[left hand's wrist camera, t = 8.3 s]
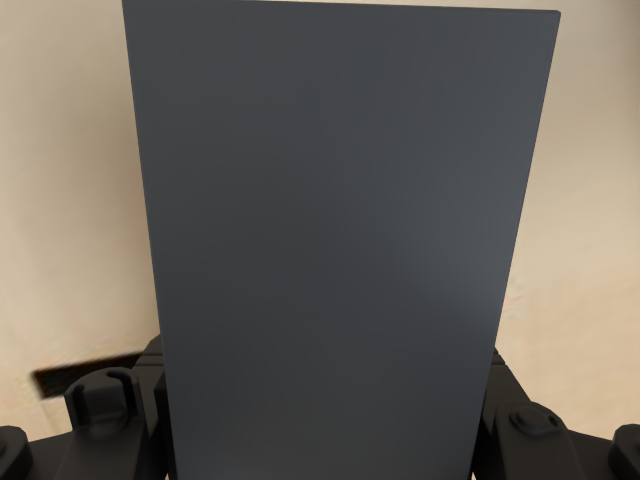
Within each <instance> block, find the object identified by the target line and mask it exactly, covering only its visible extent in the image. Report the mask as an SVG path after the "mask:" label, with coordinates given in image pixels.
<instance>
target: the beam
mask: <svg viewBox="0 0 640 480" xmlns="http://www.w3.org/2000/svg"><path fill="white" fill-rule="evenodd" d="M122 7H123V15H124V24H125V33H126V41H127V50H128V58H129V67H130V75H131V84H132V93H133V101H134V110H135V118H136V127H137V136H138V144H139V153H140V161H141V170H142V179H143V187H144V196H145V204H146V213H147V222H148V230H149V239H150V247H151V256H152V264H153V273H154V282H155V290H156V299H157V307H158V316H159V325H160V333H161V342H162V350H163V359H164V368H165V376H166V385H167V393H168V402H169V410H170V419H171V428H172V436H173V445H174V453H175V462H176V471H177V479H178V480H468V476H469V471H470V466H471V461H472V456H473V451H474V446H475V441H476V436H477V431H478V426H479V421H480V416H481V411H482V406H483V401H484V396H485V391H486V386H487V381H488V376H489V371H490V366H491V361H492V356H493V351H494V346H495V341H496V336H497V331H498V326H499V321H500V316H501V312H502V307H503V302H504V297H505V292H506V287H507V282H508V277H509V272H510V267H511V262H512V257H513V252H514V247H515V242H516V237H517V232H518V227H519V222H520V217H521V212H522V207H523V202H524V197H525V192H526V187H527V182H528V177H529V172H530V167H531V162H532V157H533V152H534V147H535V142H536V137H537V132H538V127H539V122H540V117H541V112H542V107H543V102H544V97H545V92H546V87H547V82H548V77H549V72H550V67H551V62H552V57H553V52H554V47H555V42H556V37H557V32H558V27H559V22H560V17H561V12H559V11H557V10H533V9H503V8H473V7H443V6H414V5H384V4H354V3H324V2H294V1H264V0H122Z"/></svg>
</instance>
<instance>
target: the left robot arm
mask: <svg viewBox="0 0 640 480" xmlns="http://www.w3.org/2000/svg"><path fill="white" fill-rule="evenodd" d="M64 398H65V402H66V406H67V410H68V413H69V417H70V421H71V424H72V428H73V430H72V431H71V432H68V433H64V434H61V435H57V436H53V437H49V438H44V439H40V440H36V441H32V442H28V439H27V436H26V433H25V432H24V431H23V430H22V429H21V428H20V427H15V426H9V425H8V426H1V427H0V480H165V478H166V476H167V473H168V477H169V480H178V479H177V471H176V462H175V453H174V445H173V436H172V428H171V419H170V410H169V402H168V393H167V385H166V376H165V368H164V359H163V350H162V342H161V334H159V335H158V336H157V337H155V338H154V339H153V340H151V341H150V342H149V344H148V346H147V347H146V349H145V350H144V352H143V353H142V356H140V358H139V359H138V361H137V362H136V364H135V366H134V367H133V368H132V370H131V369H127V368H123V367H112V368H106V369H102V370H98V371H94V372H92V373H90V374H88V375H86V376H84V377H81V378H80V379H79V380H77V381H76V382H75V383H73V384H72V385H71V386H70V387H69V388H68V390H67V391H66V392H65V394H64ZM472 473H474V475H475V478H476V480H640V425H638V424H628V425H622V426H621V427H619V428H618V429H617V430H616V431H615V434H614V437H613V440H607V439H603V438H599V437H595V436H590V435H586V434H582V433H578V432H575V431H572V430H569V429H567V427H566V426H565V424H564V423H563V421H562V420H561V418H560V417H558V416H557V415H556V414H555V413H554V412H552V411H551V410H550V409H548V408H546V407H544V406H542V405H540V404H538V403H535V402H532V401H531V400H530V399H529V397H528V396H527V394H526V393H525V391H524V390H523V388H522V387H521V385H520V384H519V382H518V381H517V379H516V378H515V376H514V375H513V373H512V372H511V370H510V369H509V367H508V366H507V365H505V361H504V360H503V358H502V357H501V355H499V354H498V351H497V349H496V348H495V346H494V351H493V356H492V361H491V366H490V371H489V376H488V381H487V386H486V391H485V396H484V401H483V406H482V411H481V416H480V421H479V426H478V431H477V436H476V441H475V446H474V451H473V456H472V461H471V466H470V471H469V476H468V480H471V479H472Z"/></svg>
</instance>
